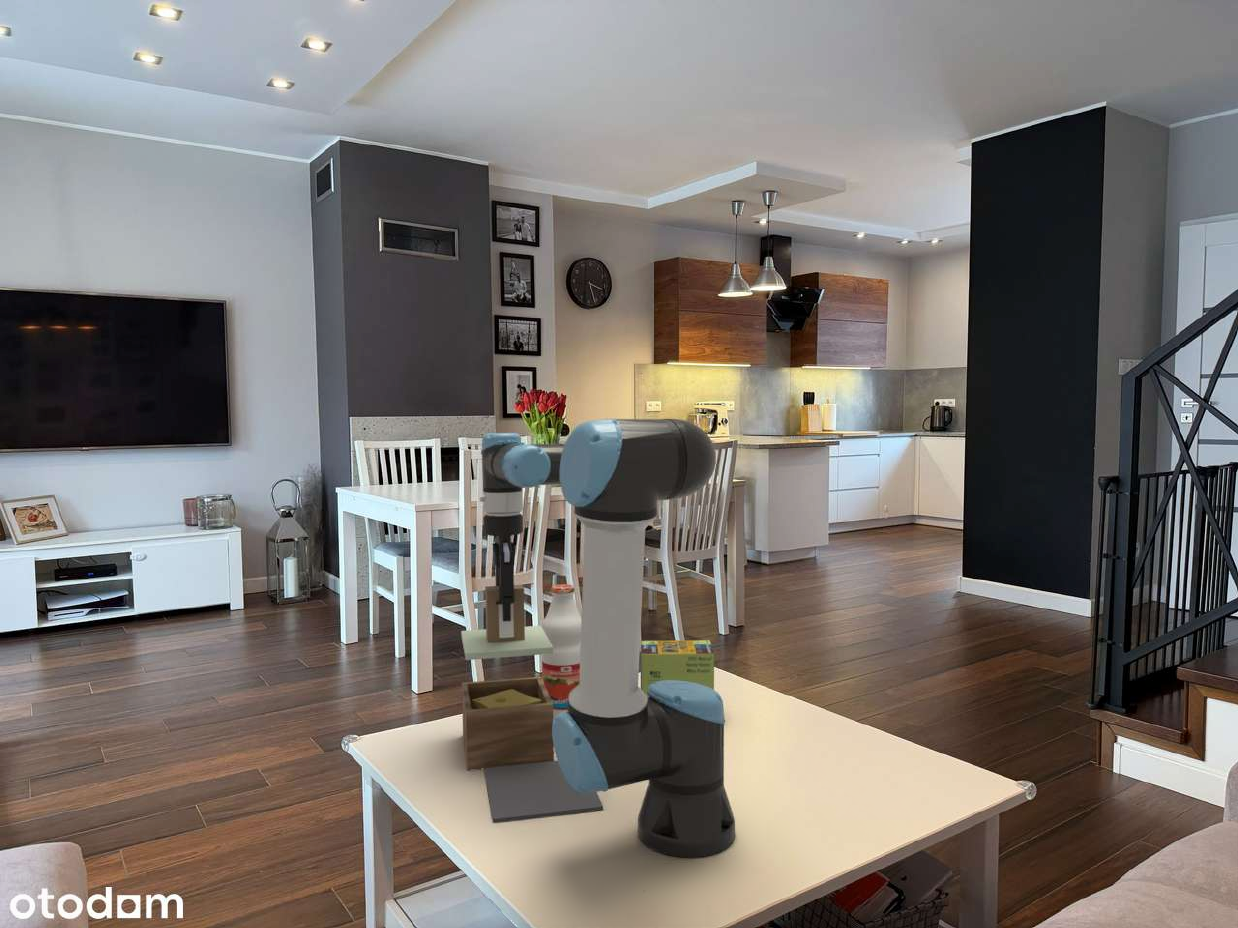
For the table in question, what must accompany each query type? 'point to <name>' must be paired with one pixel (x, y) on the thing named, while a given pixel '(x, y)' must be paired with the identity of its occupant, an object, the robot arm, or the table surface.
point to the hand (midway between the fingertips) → (505, 633)
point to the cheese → (504, 700)
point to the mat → (534, 792)
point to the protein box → (677, 662)
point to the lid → (492, 646)
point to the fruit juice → (562, 647)
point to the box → (507, 725)
